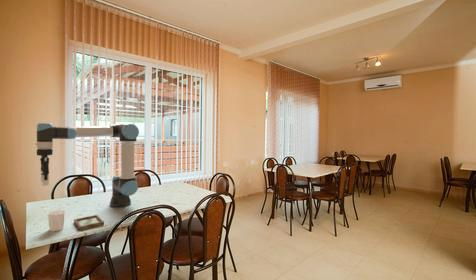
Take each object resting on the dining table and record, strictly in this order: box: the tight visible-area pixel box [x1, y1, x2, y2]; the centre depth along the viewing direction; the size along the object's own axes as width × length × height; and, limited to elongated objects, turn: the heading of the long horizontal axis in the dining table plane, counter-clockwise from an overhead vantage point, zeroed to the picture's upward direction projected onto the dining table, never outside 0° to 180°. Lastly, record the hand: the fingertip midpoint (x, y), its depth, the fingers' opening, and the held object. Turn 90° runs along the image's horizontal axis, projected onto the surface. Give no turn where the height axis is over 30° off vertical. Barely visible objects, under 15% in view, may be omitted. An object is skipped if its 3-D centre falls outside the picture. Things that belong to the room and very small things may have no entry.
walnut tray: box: [73, 214, 105, 231], centre depth 151 cm, size 13×16×2 cm
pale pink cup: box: [47, 210, 66, 232], centre depth 142 cm, size 8×8×10 cm
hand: (44, 183), depth 145 cm, fingers open, 13 cm apart
